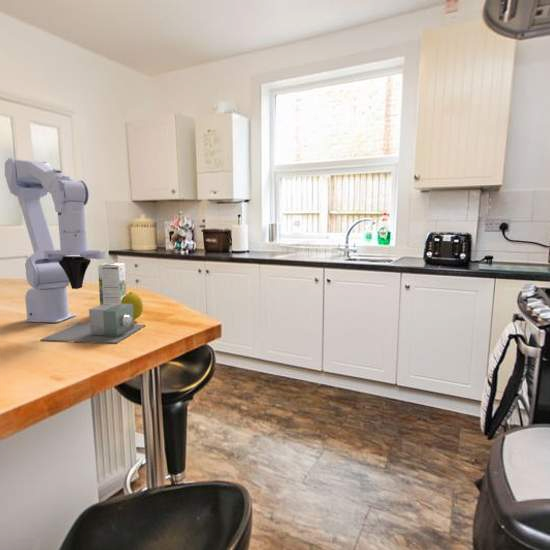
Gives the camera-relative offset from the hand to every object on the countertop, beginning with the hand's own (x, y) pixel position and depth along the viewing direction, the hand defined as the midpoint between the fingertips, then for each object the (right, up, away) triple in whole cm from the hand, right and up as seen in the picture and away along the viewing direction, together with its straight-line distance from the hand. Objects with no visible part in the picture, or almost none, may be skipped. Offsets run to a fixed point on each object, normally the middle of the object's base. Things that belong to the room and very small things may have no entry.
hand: (77, 288), depth 93 cm
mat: (+6, -11, -2) cm, 12 cm away
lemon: (+10, -9, +9) cm, 16 cm away
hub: (+8, -11, -2) cm, 13 cm away
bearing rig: (+10, -11, -2) cm, 15 cm away
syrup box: (+2, -8, +18) cm, 20 cm away
